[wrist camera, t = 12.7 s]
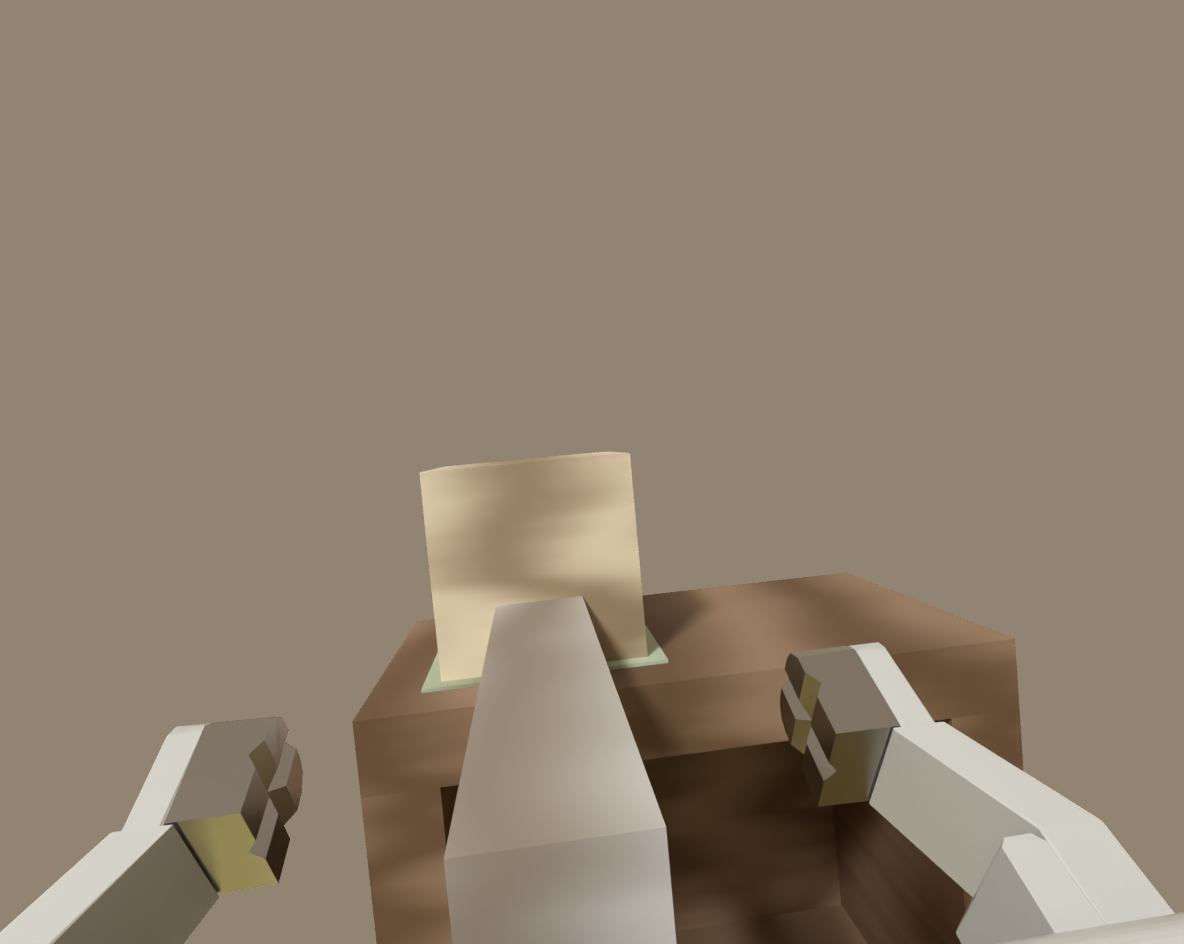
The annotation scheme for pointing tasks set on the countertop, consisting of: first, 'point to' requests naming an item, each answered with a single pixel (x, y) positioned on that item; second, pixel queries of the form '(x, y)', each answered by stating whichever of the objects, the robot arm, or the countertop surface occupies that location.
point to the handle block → (546, 703)
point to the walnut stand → (710, 766)
